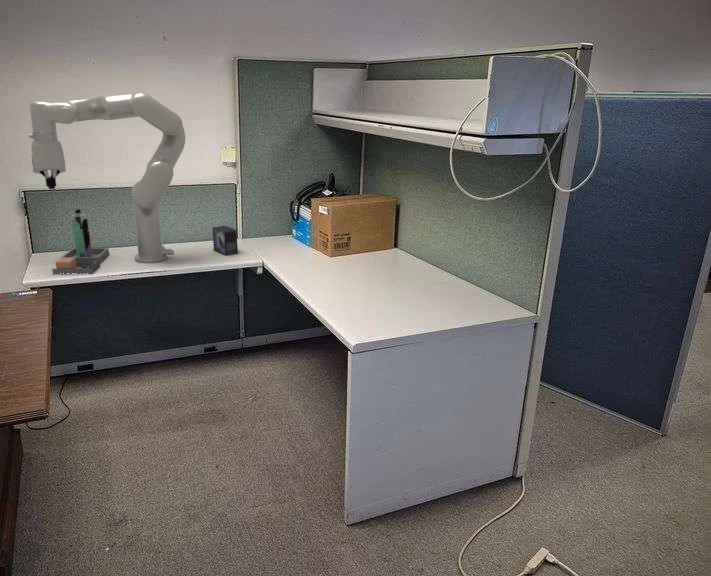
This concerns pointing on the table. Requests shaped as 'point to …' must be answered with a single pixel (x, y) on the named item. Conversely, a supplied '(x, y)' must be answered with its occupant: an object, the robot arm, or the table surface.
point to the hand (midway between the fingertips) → (51, 188)
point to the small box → (225, 240)
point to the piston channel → (92, 268)
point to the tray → (97, 254)
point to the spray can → (81, 234)
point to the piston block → (66, 263)
